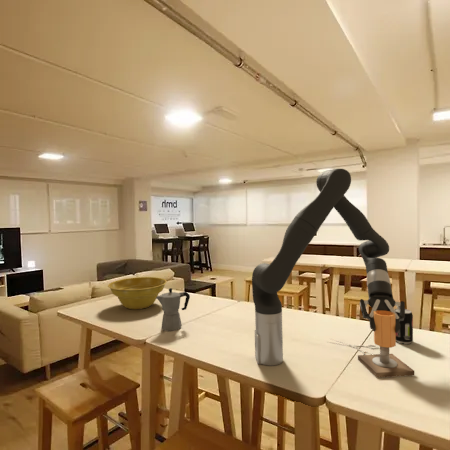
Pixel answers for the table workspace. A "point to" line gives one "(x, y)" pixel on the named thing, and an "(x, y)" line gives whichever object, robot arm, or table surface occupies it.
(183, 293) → the coffeepot
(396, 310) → the beverage can
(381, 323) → the collar
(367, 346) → the scissors
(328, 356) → the table surface
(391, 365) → the spindle
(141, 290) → the planter bowl
